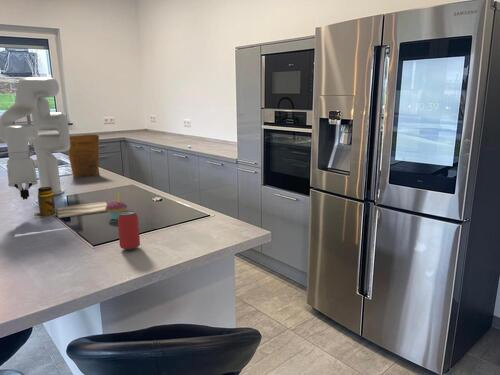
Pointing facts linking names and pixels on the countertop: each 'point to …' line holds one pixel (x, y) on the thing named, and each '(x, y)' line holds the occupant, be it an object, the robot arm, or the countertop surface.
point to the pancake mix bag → (84, 155)
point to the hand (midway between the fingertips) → (25, 198)
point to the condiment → (46, 203)
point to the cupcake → (116, 208)
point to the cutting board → (81, 209)
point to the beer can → (128, 229)
